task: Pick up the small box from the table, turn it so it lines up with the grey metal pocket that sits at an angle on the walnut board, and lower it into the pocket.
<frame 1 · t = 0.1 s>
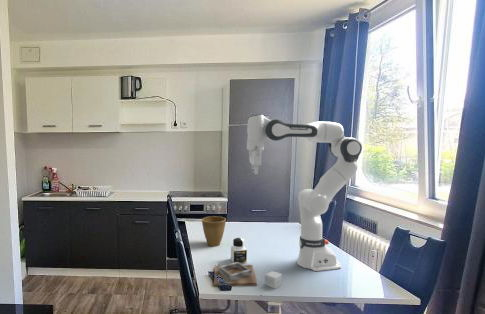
hand: (254, 173, 150), 48 cm above the table, tool pointing down, fingers open, 8 cm apart
small box: (273, 285, 130), on the table
medicine bottle: (238, 261, 156), on the table
plant pot: (213, 244, 181), on the table
pocket board: (234, 276, 138), on the table
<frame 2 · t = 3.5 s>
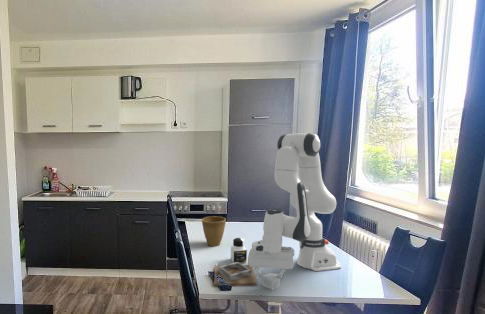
hand: (269, 277, 128), 4 cm above the table, tool pointing down, fingers open, 8 cm apart
small box: (271, 286, 129), on the table, touching gripper
everything else where it was.
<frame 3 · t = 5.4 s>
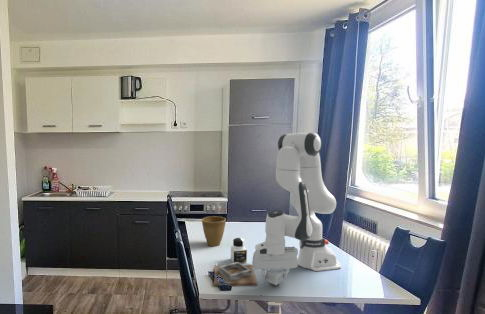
hand: (274, 277, 131), 3 cm above the table, tool pointing down, fingers closed on small box, 8 cm apart
small box: (274, 281, 131), point 1 cm above the table, touching gripper
everything else where it was.
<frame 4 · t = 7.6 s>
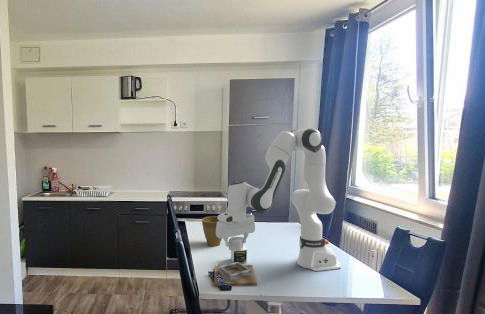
hand: (235, 244, 137), 15 cm above the table, tool pointing down, fingers closed on small box, 8 cm apart
small box: (235, 249, 137), point 13 cm above the table, touching gripper
everything else where it was.
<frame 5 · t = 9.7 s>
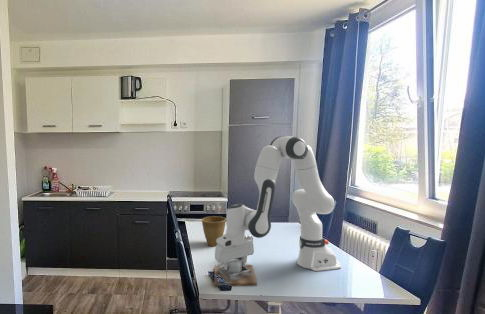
hand: (234, 267, 138), 4 cm above the table, tool pointing down, fingers closed on small box, 8 cm apart
small box: (234, 271, 138), point 2 cm above the table, touching gripper
everything else where it was.
when the fingers open (4 cm above the table, at t = 10.9 s): small box stays where it is, resting on pocket board.
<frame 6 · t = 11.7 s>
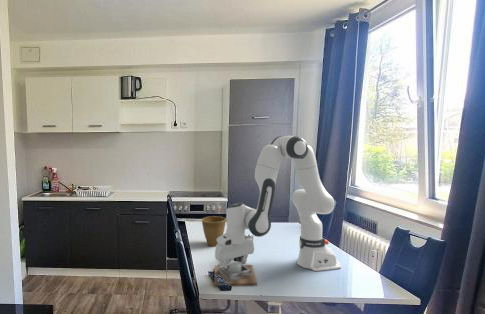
hand: (235, 266, 138), 5 cm above the table, tool pointing down, fingers open, 8 cm apart
small box: (234, 273, 138), point 1 cm above the table, touching gripper, pocket board
everything else where it was.
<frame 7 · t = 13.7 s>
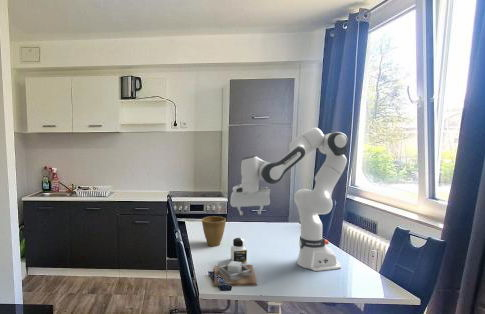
hand: (250, 214, 148), 27 cm above the table, tool pointing down, fingers open, 8 cm apart
small box: (234, 274, 138), point 1 cm above the table, touching pocket board
everything else where it was.
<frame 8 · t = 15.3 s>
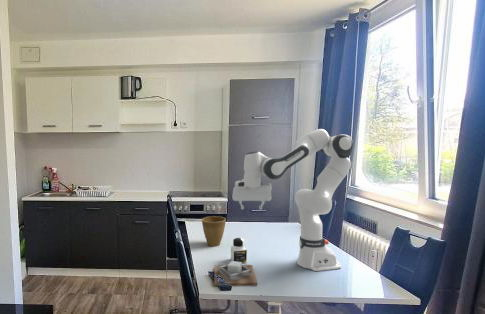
hand: (251, 209, 150), 29 cm above the table, tool pointing down, fingers open, 8 cm apart
nothing on the table moved.
at the end: small box 0.1 cm off-centre on the pocket board, point 1.0 cm above the pocket board's base; small box tilted 0°; the gripper is holding nothing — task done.
